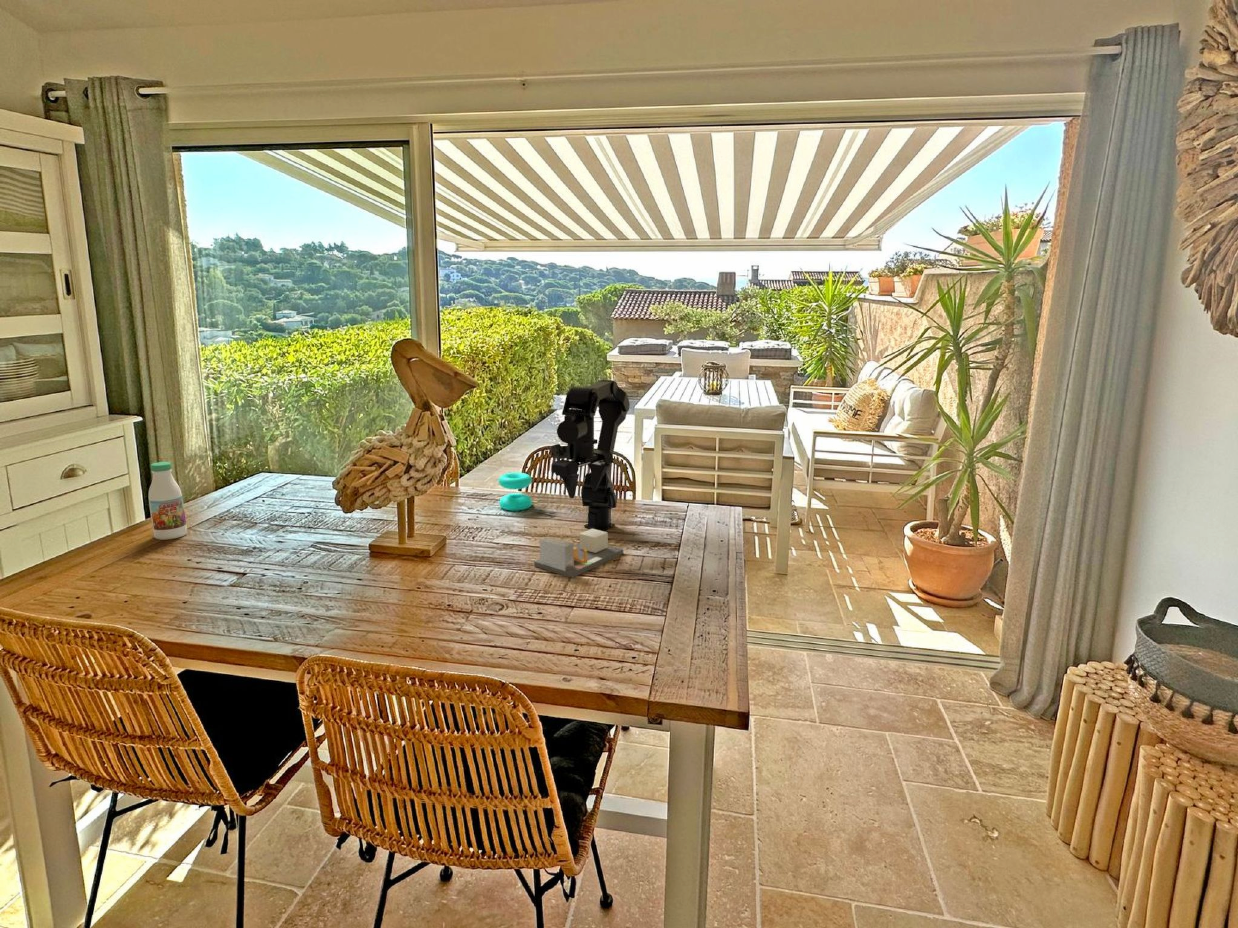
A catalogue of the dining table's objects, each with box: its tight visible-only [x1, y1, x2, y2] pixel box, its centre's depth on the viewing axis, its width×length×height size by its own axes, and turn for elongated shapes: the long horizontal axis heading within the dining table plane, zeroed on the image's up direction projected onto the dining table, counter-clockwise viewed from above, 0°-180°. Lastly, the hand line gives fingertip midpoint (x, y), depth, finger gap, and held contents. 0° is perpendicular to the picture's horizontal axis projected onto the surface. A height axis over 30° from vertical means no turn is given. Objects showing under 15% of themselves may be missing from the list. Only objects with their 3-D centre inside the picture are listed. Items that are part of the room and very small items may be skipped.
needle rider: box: [574, 547, 587, 564], centre depth 176 cm, size 2×8×4 cm, turn 53°
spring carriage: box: [579, 528, 609, 553], centre depth 184 cm, size 5×5×4 cm
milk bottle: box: [147, 461, 188, 540], centre depth 193 cm, size 8×8×20 cm
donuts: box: [498, 472, 533, 512], centre depth 222 cm, size 10×10×10 cm
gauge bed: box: [533, 536, 624, 579], centre depth 180 cm, size 20×12×7 cm, turn 143°
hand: (583, 494), depth 191 cm, fingers open, 9 cm apart
